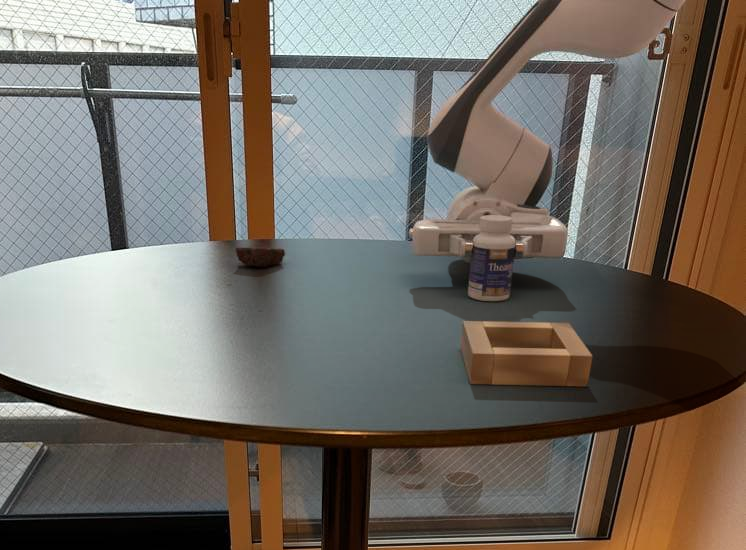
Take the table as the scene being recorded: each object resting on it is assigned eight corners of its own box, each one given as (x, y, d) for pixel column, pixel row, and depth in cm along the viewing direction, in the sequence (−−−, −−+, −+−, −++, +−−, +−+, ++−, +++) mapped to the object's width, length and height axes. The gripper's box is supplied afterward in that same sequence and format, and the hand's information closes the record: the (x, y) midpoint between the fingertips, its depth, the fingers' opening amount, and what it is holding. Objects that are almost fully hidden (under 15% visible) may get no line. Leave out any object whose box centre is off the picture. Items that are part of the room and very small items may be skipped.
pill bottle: (487, 304, 101) (495, 222, 96) (459, 295, 105) (465, 216, 100) (518, 298, 104) (527, 218, 99) (489, 290, 108) (497, 212, 103)
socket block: (564, 351, 85) (569, 322, 83) (587, 386, 75) (592, 355, 74) (460, 348, 85) (462, 320, 84) (469, 384, 76) (472, 353, 74)
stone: (228, 267, 118) (227, 244, 117) (251, 258, 124) (251, 237, 123) (268, 271, 116) (267, 249, 115) (290, 262, 122) (290, 240, 120)
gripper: (409, 205, 111) (412, 222, 99) (558, 207, 110) (579, 224, 98) (407, 253, 114) (410, 275, 102) (551, 255, 114) (571, 277, 102)
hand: (494, 250), depth 100 cm, fingers closed on pill bottle, 5 cm apart
